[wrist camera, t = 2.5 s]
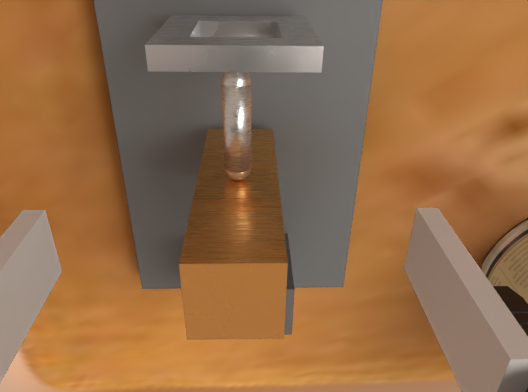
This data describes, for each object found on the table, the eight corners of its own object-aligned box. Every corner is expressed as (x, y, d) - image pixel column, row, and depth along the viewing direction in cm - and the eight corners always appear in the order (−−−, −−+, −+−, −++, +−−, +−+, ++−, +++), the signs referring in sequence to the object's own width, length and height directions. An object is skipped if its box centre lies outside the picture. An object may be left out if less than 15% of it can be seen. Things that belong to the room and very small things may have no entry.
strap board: (50, -347, 14) (31, -373, 13) (416, -334, 15) (432, -360, 14) (147, 272, 28) (142, 288, 27) (339, 270, 28) (343, 287, 27)
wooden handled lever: (172, 15, 18) (104, 88, 10) (305, 16, 18) (350, 90, 10) (193, 264, 25) (164, 434, 16) (291, 263, 25) (311, 432, 16)
